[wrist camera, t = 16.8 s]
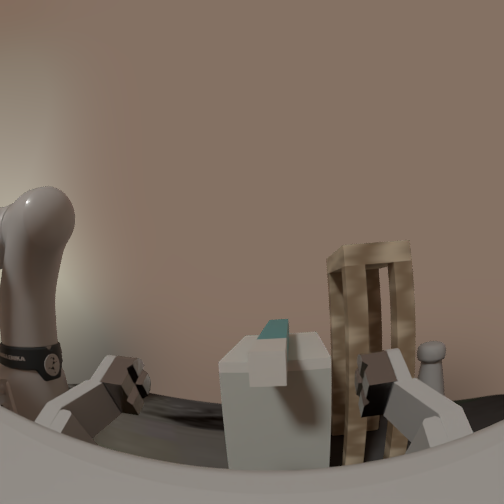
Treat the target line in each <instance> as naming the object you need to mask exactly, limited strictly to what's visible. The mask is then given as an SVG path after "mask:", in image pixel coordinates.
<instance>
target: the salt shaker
mask: <svg viewBox="0 0 504 504" xmlns="http://www.w3.org/2000/svg"><path fill="white" fill-rule="evenodd" d="M445 353H446V348H445V344H444V343H442V342H438V341H431V342H426V343H423V344H421V345H420V346H419V347H418V351H417V358H418V360H419V361H421V366H420V370H419V375H418V380H420V381H422V382H423V383H425V384H426V385H428V386H429V387H431V388H432V389H434V390H435V391H437V392H439V393H440V394H442V395H443V396H444V381H443V369H442V359H444V357H445Z"/></svg>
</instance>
